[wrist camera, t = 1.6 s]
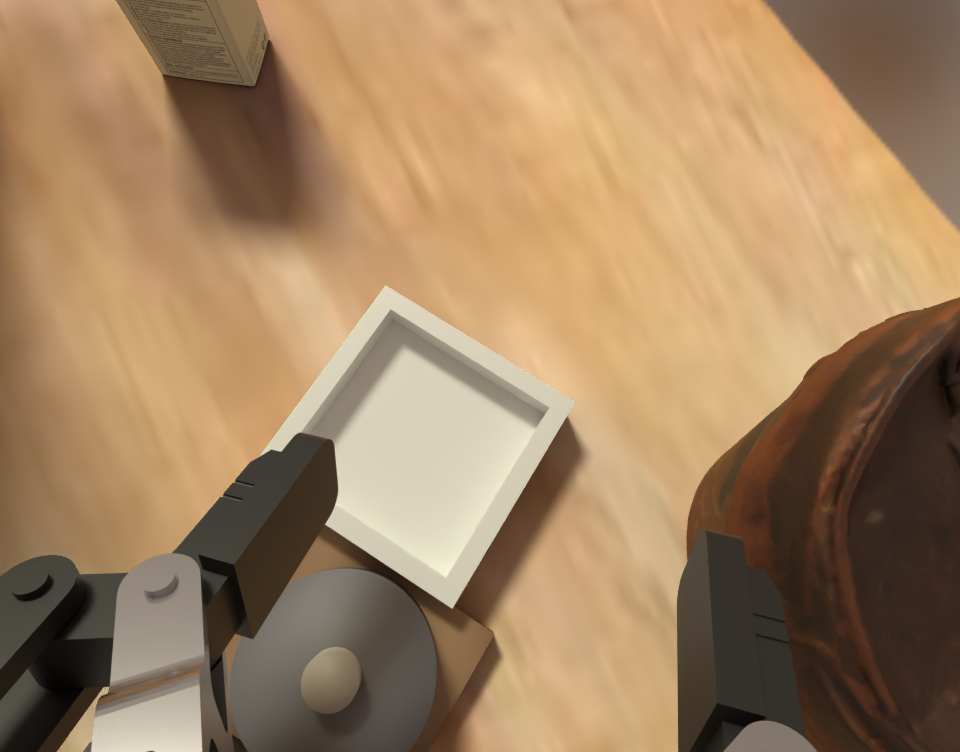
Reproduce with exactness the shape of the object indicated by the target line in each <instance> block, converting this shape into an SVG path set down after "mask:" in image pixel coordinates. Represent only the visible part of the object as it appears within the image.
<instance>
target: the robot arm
mask: <svg viewBox="0 0 960 752" xmlns="http://www.w3.org/2000/svg"><path fill="white" fill-rule="evenodd" d="M337 496H338V479H337V468H336V457H335V447H334V442H333V441H332V440H331V439H327V438H323V437H318V436H314V435H310V434H305V433H301V432H300V433H297V434H296V435H295V436H294V437H293V438H292V439H291V440H290V442H289V443H288V444H287V445H286V447H285V448H284V449H283V450H282V451H281V452H280V451H276V450H272V449H271V450H270V451H268V452H266V453H265V454H263V455H262V456H260V457H258V458H257V459H255V460H253V461H252V462H250V463H249V464H248V466H247V467H246V468H245V469H244V470H243V471H242V473H241V474H240V475H239V476H238V477H237V478H236V480H235V483H232V484H231V485H230V487H229V488H228V489H227V490H226V491H225V492H224V495H223V497H220V498H219V499H218V501H217V502H216V503H215V504H214V505H213V506H212V508H211V509H210V510H209V511H208V512H207V513H206V515H205V516H204V517H203V518H202V519H201V520H200V522H199V523H198V524H197V525H196V526H195V528H194V529H193V530H192V531H191V532H190V533H189V535H188V536H187V537H186V538H185V539H184V540H183V542H182V543H181V544H180V545H179V546H178V547H177V548H176V549H175V550H174V551H173V552H172V553H169V554H162V555H158V556H155V557H152V558H150V559H147V560H145V561H144V562H142V563H140V564H139V565H137V566H136V567H134V568H133V569H132V570H131V571H130V572H129V573H113V574H82V575H79V572H78V570H77V568H76V566H75V564H74V563H73V562H72V561H71V560H69V559H68V558H66V557H63V556H57V555H48V556H41V557H37V558H33V559H30V560H27V561H25V562H23V563H20V564H18V565H17V566H15V567H13V568H11V569H10V570H9V571H7V572H6V573H4V574H3V575H2V576H1V577H0V752H57V750H58V749H59V748H60V746H61V745H62V743H63V742H64V741H65V739H66V738H67V737H68V735H69V734H70V732H71V731H72V730H73V728H74V727H75V726H76V724H77V723H78V721H79V720H80V719H81V717H82V716H83V714H84V713H85V712H86V710H87V709H88V708H89V706H90V705H91V703H92V702H93V701H94V699H95V698H96V697H97V695H98V694H99V692H100V691H101V690H102V688H103V687H110V688H109V692H108V694H106V695H103V696H101V697H100V698H99V700H98V702H97V705H96V710H95V717H94V727H93V738H92V748H91V752H234V748H233V740H232V729H231V716H230V703H229V690H228V677H227V665H226V654H225V648H226V647H227V645H228V644H229V642H230V641H231V639H232V638H233V636H234V635H235V634H237V635H240V636H243V637H247V638H250V639H254V637H255V636H256V634H257V632H258V631H259V629H260V628H261V626H262V624H263V623H264V621H265V620H266V618H267V616H268V615H269V613H270V612H271V610H272V608H273V607H274V605H275V604H276V602H277V600H278V599H279V597H280V596H281V594H282V592H283V591H284V589H285V588H286V586H287V584H288V583H289V581H290V580H291V578H292V576H293V575H294V573H295V572H296V570H297V568H298V567H299V565H300V564H301V562H302V560H303V559H304V557H305V556H306V554H307V552H308V551H309V549H310V548H311V546H312V544H313V543H314V541H315V540H316V538H317V536H318V535H319V533H320V532H321V530H322V528H323V527H324V525H325V524H326V522H327V520H328V519H329V517H330V516H331V514H332V512H333V510H334V507H335V504H336V501H337ZM785 622H786V620H785V615H784V609H783V603H782V598H781V595H780V593H779V591H778V590H777V588H776V586H775V585H774V583H773V581H772V580H771V578H770V576H769V575H768V573H767V572H766V571H765V570H761V569H757V568H753V567H749V566H747V562H746V554H745V547H744V542H743V539H742V538H741V537H738V536H734V535H730V534H726V533H721V532H717V531H713V530H709V529H704V528H703V529H701V531H700V532H699V535H698V537H697V540H696V542H695V544H694V547H693V549H692V552H691V554H690V557H689V559H688V562H687V564H686V567H685V569H684V571H683V574H682V577H681V580H680V585H679V590H678V598H677V658H678V752H817V751H816V749H815V748H814V747H813V746H812V745H811V744H810V742H809V740H808V737H807V735H806V731H805V727H804V722H803V716H802V711H801V705H800V699H799V694H798V688H797V682H796V677H795V671H794V665H793V660H792V654H791V648H789V637H788V631H787V626H785Z"/></svg>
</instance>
